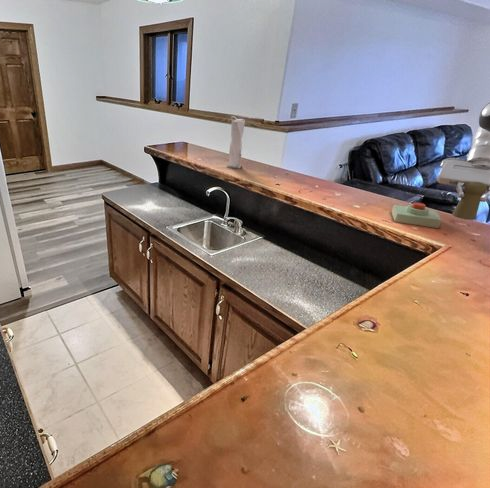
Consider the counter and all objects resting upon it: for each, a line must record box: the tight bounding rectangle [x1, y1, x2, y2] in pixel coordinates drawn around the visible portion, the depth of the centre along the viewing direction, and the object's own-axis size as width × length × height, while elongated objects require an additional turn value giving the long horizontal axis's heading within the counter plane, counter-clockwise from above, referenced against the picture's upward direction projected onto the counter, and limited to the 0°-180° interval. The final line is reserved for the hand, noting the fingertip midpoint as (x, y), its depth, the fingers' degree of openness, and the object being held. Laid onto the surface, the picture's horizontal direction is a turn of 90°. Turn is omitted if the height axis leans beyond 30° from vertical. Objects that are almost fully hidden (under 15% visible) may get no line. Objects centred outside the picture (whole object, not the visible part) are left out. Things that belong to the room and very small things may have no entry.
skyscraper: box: [227, 115, 246, 170], centre depth 199 cm, size 8×8×28 cm
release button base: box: [391, 204, 443, 229], centre depth 133 cm, size 14×11×5 cm
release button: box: [411, 202, 427, 210], centre depth 132 cm, size 4×4×2 cm
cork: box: [451, 182, 487, 221], centre depth 108 cm, size 6×6×11 cm
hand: (471, 198), depth 108 cm, fingers closed on cork, 4 cm apart
